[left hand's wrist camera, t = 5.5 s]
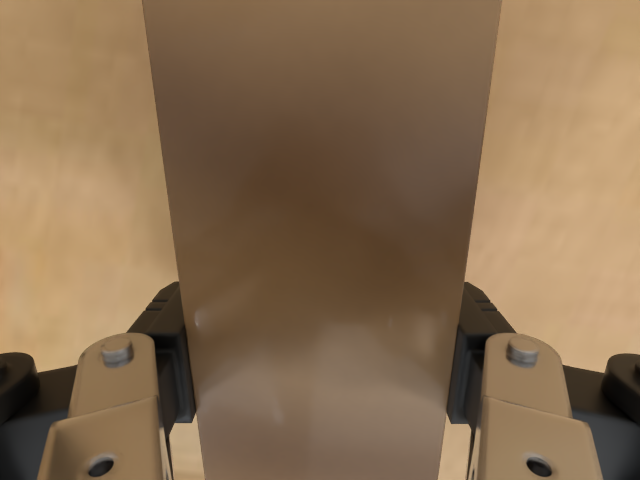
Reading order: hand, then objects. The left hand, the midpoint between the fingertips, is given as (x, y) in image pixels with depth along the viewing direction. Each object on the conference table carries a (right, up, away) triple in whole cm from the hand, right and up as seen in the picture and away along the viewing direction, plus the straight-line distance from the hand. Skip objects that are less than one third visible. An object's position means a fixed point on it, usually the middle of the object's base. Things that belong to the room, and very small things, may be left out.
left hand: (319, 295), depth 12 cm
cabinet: (0, +7, +4) cm, 8 cm away
